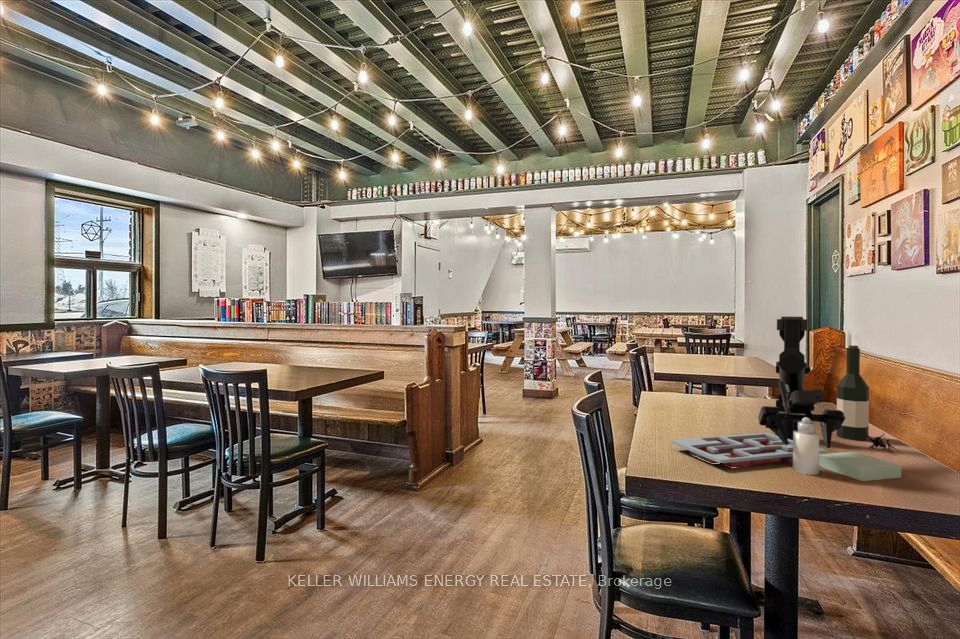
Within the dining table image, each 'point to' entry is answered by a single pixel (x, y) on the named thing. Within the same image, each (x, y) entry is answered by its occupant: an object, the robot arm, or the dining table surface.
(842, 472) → the plinth
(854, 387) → the wine bottle
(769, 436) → the maze game
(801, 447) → the pepper mill
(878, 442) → the creature
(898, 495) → the dining table surface
